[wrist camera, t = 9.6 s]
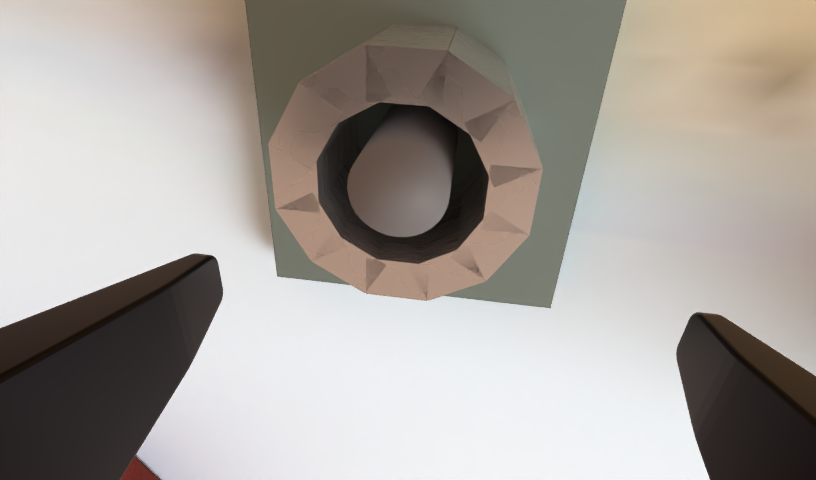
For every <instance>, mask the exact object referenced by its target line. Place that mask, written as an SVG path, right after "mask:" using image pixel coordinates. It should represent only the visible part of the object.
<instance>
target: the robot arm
mask: <svg viewBox="0 0 816 480" xmlns="http://www.w3.org/2000/svg"><path fill="white" fill-rule="evenodd" d="M222 297H223V287H222V282H221V277H220V271H219V266H218V262H217V260H216V258H215V257H214V256H212V255H204V254H191V255H188V256H186V257H183V258H181V259H178V260H175V261H173V262H170V263H168V264H165V265H162V266H160V267H157V268H155V269H152V270H150V271H147V272H144V273H142V274H139V275H137V276H134V277H131V278H129V279H126V280H124V281H121V282H119V283H116V284H113V285H111V286H108V287H106V288H103V289H101V290H98V291H95V292H93V293H90V294H88V295H85V296H82V297H80V298H77V299H75V300H72V301H70V302H67V303H64V304H62V305H59V306H57V307H54V308H51V309H49V310H46V311H44V312H41V313H39V314H36V315H33V316H31V317H28V318H26V319H23V320H20V321H18V322H15V323H13V324H10V325H8V326H5V327H2V328H0V480H120V479H121V478H122V476H123V474H124V473H125V471H126V470H127V468H128V466H129V465H130V463H131V461H132V460H133V458H134V457H135V455H136V453H137V452H138V450H139V448H140V447H141V445H142V444H143V442H144V440H145V439H146V437H147V436H148V434H149V432H150V431H151V429H152V427H153V426H154V424H155V423H156V421H157V419H158V418H159V416H160V414H161V413H162V411H163V410H164V408H165V406H166V405H167V403H168V401H169V400H170V398H171V397H172V395H173V393H174V392H175V390H176V388H177V387H178V385H179V384H180V382H181V380H182V379H183V377H184V375H185V374H186V372H187V370H188V369H189V367H190V365H191V363H192V361H193V359H194V358H195V356H196V354H197V351H198V349H199V347H200V345H201V343H202V341H203V339H204V337H205V335H206V332H207V330H208V328H209V326H210V324H211V322H212V320H213V318H214V316H215V314H216V311H217V309H218V307H219V305H220V303H221V300H222ZM676 356H677V363H678V367H679V371H680V376H681V380H682V384H683V389H684V393H685V397H686V401H687V406H688V410H689V414H690V419H691V423H692V427H693V431H694V434H695V438H696V441H697V444H698V447H699V450H700V453H701V456H702V458H703V461H704V464H705V467H706V470H707V472H708V475H709V478H710V480H816V376H814V375H813V374H811V373H810V372H808V371H807V370H805V369H804V368H802V367H801V366H799V365H797V364H796V363H794V362H793V361H791V360H790V359H788V358H787V357H785V356H783V355H782V354H780V353H779V352H777V351H776V350H774V349H773V348H771V347H769V346H768V345H766V344H765V343H763V342H762V341H760V340H759V339H757V338H756V337H754V336H752V335H751V334H749V333H748V332H746V331H745V330H743V329H742V328H740V327H738V326H737V325H735V324H734V323H732V322H731V321H729V320H728V319H726V318H724V317H723V316H721V315H718V314H709V313H700V312H697V313H695V314H693V315H692V316H691V317H690V319H689V321H688V324H687V326H686V328H685V330H684V333H683V335H682V337H681V340H680V342H679V344H678V347H677V353H676Z"/></svg>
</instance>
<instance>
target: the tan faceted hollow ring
mask: <svg viewBox="0 0 816 480" xmlns="http://www.w3.org/2000/svg"><path fill="white" fill-rule="evenodd" d="M379 102H382V103H395V104H407V105H420V106H429V107H431V108H432V109H434V110H435V111H437V112H438V113H439V114H441V115H442V116H444V117H445V118H447V119H448V120H450V121H451V122H453V123H454V124H455V125H457V126H458V127H460V128H461V129H463V130H464V131H466V132H467V133H468V134H470V136H471V138H472V140H473V142H474V144H475V147H476V149H477V151H478V153H479V155H480V157H481V159H480V160H479V162H478V163H477V164H476V165H475V167H474V168H473V169H472V170H471V172H470V173H469V174H468V176H467V177H466V178H465V179H464V181H463V182H460V183H458V184H455V185H453V186H451V191H450V198H449V203H448V206H447V209H446V211H445V213H444V215H443V217H442V218H441V220H440V221H439V222H438V223H437V224H436V225H435V226H433V227H432V228H431V229H429V230H428V231H426V232H424V233H422V234H419V235H415V236H410V237H394V236H389V235H385V234H382V233H380V232H378V231H376V230H374V229H372V228H371V227H369V226H368V225H366V224H365V223H364V222H363V221H362V220H361V219H360V218H359V217H358V215H357V214H356V212H355V211H354V209H353V207H352V205H351V203H350V200H349V196H348V190H347V182H348V176H349V173H350V170H351V168H352V166H353V164H354V162H355V161H356V159H357V158H358V156H359V155H360V153H361V152H362V150H361V148H360V147H359V145H358V113H359V112H361V111H363V110H365V109H367V108H369V107H371V106H373V105H375V104H377V103H379ZM268 147H269V156H270V165H271V174H272V183H273V193H274V202H275V208H276V211H277V212H278V214H279V215H280V217H281V218H282V219H283V221H284V222H285V224H286V225H287V227H288V228H289V230H290V231H291V233H292V234H293V235H294V237H295V238H296V240H297V241H298V243H299V244H300V246H301V247H302V249H303V250H304V251H305V253H306V254H307V256H308V257H309V259H310V260H311V261H312V262H313V263H315V264H317V265H318V266H320V267H322V268H323V269H325V270H327V271H328V272H330V273H332V274H333V275H335V276H337V277H339V278H340V279H342V280H344V281H345V282H347V283H349V284H350V285H352V286H354V287H355V288H357V289H359V290H361V291H362V292H364V293H366V294H374V295H383V296H391V297H400V298H408V299H417V300H425V301H427V300H431V299H434V298H437V297H440V296H443V295H446V294H449V293H452V292H455V291H458V290H461V289H464V288H467V287H470V286H473V285H476V284H479V283H482V282H485V281H487V280H488V279H489V278H490V277H491V276H492V275H493V274H494V273H495V271H496V270H497V269H498V268H499V267H500V266H501V265H502V264H503V263H504V262H505V261H506V260H507V259H508V258H509V257H510V256H511V254H512V253H513V252H514V251H515V250H516V249H517V248H518V247H519V246H520V245H521V244H522V243H523V242H524V241H525V240H526V239H527V237H528V236H529V235H530V231H531V226H532V221H533V216H534V211H535V206H536V201H537V196H538V191H539V186H540V181H541V176H542V171H543V167H542V164H541V161H540V157H539V154H538V151H537V147H536V144H535V141H534V137H533V134H532V131H531V127H530V124H529V121H528V117H527V114H526V112H525V109H524V107H523V104H522V102H521V99H520V97H519V94H518V92H517V89H516V87H515V84H514V82H513V79H512V77H511V74H510V72H509V69H508V67H507V64H506V62H505V61H504V60H502V59H501V58H500V57H498V56H497V55H496V54H494V53H493V52H491V51H490V50H489V49H487V48H486V47H485V46H483V45H482V44H481V43H479V42H478V41H476V40H475V39H474V38H472V37H471V36H470V35H468V34H467V33H466V32H464V31H463V30H461V29H460V28H459V27H456V26H441V25H425V24H409V23H397V24H395V25H393V26H391V27H389V28H388V29H386V30H384V31H382V32H381V33H379V34H377V35H375V36H374V37H372V38H370V39H368V40H366V41H365V42H363V43H361V44H359V45H358V46H356V47H354V48H352V49H350V50H349V51H347V52H346V53H344V54H342V55H341V56H339V57H338V58H336V59H334V60H333V61H331V62H330V63H328V64H327V65H325V66H323V67H322V68H320V69H319V70H317V71H316V72H314V73H312V74H311V75H309V76H308V77H306V78H305V79H303V80H301V81H300V82H299V83H298V85H297V87H296V89H295V91H294V93H293V95H292V97H291V99H290V101H289V103H288V105H287V107H286V109H285V111H284V113H283V115H282V117H281V119H280V121H279V123H278V125H277V127H276V129H275V131H274V133H273V135H272V137H271V139H270V141H269V143H268Z"/></svg>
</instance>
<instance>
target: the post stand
mask: <svg viewBox="0 0 816 480" xmlns="http://www.w3.org/2000/svg"><path fill="white" fill-rule="evenodd" d="M245 4H246V12H247V21H248V29H249V38H250V47H251V55H252V64H253V72H254V81H255V90H256V98H257V107H258V115H259V124H260V132H261V141H262V150H263V158H264V167H265V175H266V184H267V193H268V201H269V210H270V218H271V227H272V236H273V244H274V253H275V261H276V270H277V276H278V277H287V278H295V279H304V280H312V281H321V282H330V283H338V284H347V285H350V284H349V283H347V282H345V281H344V280H342V279H340V278H339V277H337V276H335V275H333V274H332V273H330V272H328V271H327V270H325V269H323V268H322V267H320V266H318V265H317V264H315V263H313V262H312V261H311V260H310V259H309V257H308V256H307V254H306V253H305V251H304V250H303V249H302V247H301V246H300V244H299V243H298V241H297V240H296V238H295V237H294V235H293V234H292V233H291V231H290V230H289V228H288V227H287V225H286V224H285V222H284V221H283V219H282V218H281V217H280V215H279V214H278V212H277V211H276V208H275V202H274V193H273V183H272V174H271V165H270V156H269V147H268V143H269V141H270V139H271V137H272V135H273V133H274V131H275V129H276V127H277V125H278V123H279V121H280V119H281V117H282V115H283V113H284V111H285V109H286V107H287V105H288V103H289V101H290V99H291V97H292V95H293V93H294V91H295V89H296V87H297V85H298V83H299V82H300V81H301V80H303V79H305V78H306V77H308V76H309V75H311V74H312V73H314V72H316V71H317V70H319V69H320V68H322V67H323V66H325V65H327V64H328V63H330V62H331V61H333V60H334V59H336V58H338V57H339V56H341V55H342V54H344V53H346V52H347V51H349V50H350V49H352V48H354V47H356V46H358V45H359V44H361V43H363V42H365V41H366V40H368V39H370V38H372V37H374V36H375V35H377V34H379V33H381V32H382V31H384V30H386V29H388V28H389V27H391V26H393V25H395V24H397V23H409V24H425V25H441V26H456V27H459V28H460V29H461V30H463V31H464V32H466V33H467V34H468V35H470V36H471V37H472V38H474V39H475V40H476V41H478V42H479V43H481V44H482V45H483V46H485V47H486V48H487V49H489V50H490V51H491V52H493V53H494V54H496V55H497V56H498V57H500V58H501V59H502V60H504V61H505V62H506V64H507V67H508V69H509V72H510V74H511V77H512V79H513V82H514V84H515V87H516V89H517V92H518V94H519V97H520V99H521V102H522V104H523V107H524V109H525V112H526V114H527V117H528V121H529V124H530V127H531V131H532V134H533V137H534V141H535V144H536V147H537V151H538V154H539V157H540V161H541V164H542V167H543V171H542V176H541V181H540V186H539V191H538V196H537V201H536V206H535V211H534V216H533V221H532V226H531V231H530V235H529V236H528V237H527V239H526V240H525V241H524V242H523V243H522V244H521V245H520V246H519V247H518V248H517V249H516V250H515V251H514V252H513V253H512V254H511V256H510V257H509V258H508V259H507V260H506V261H505V262H504V263H503V264H502V265H501V266H500V267H499V268H498V269H497V270H496V271H495V273H494V274H493V275H492V276H491V277H490V278H489V279H488V280H487V281H485V282H482V283H479V284H476V285H473V286H470V287H467V288H464V289H461V290H458V291H455V292H452V293H449V294H446V295H443V296H450V297H459V298H467V299H476V300H485V301H493V302H502V303H510V304H519V305H528V306H536V307H545V308H551V304H552V300H553V295H554V291H555V287H556V283H557V279H558V275H559V271H560V267H561V263H562V259H563V255H564V251H565V247H566V243H567V239H568V235H569V231H570V227H571V223H572V219H573V215H574V211H575V207H576V202H577V198H578V194H579V190H580V186H581V182H582V178H583V174H584V170H585V166H586V162H587V158H588V154H589V150H590V146H591V142H592V138H593V134H594V130H595V126H596V122H597V118H598V114H599V110H600V105H601V101H602V97H603V93H604V89H605V85H606V81H607V77H608V73H609V69H610V65H611V61H612V57H613V53H614V49H615V45H616V41H617V37H618V33H619V29H620V25H621V21H622V17H623V13H624V8H625V4H626V0H245ZM358 145H359V147H360V148H361V150H362V152H361V153H360V155H359V156H358V158H357V159H356V161H355V162H354V164H353V166H352V168H351V170H350V173H349V176H348V182H347V190H348V196H349V200H350V203H351V205H352V207H353V209H354V211H355V212H356V214H357V215H358V217H359V218H360V219H361V220H362V221H363V222H364V223H365V224H366V225H368V226H369V227H371V228H372V229H374V230H376V231H378V232H380V233H382V234H385V235H389V236H394V237H410V236H415V235H419V234H422V233H424V232H426V231H428V230H429V229H431V228H432V227H433V226H435V225H436V224H437V223H438V222H439V221H440V220H441V218H442V217H443V215H444V213H445V211H446V209H447V206H448V203H449V198H450V191H451V186H453V185H455V184H458V183H460V182H463V181H464V179H465V178H466V177H467V176H468V174H469V173H470V172H471V170H472V169H473V168H474V167H475V165H476V164H477V163H478V162H479V160H480V159H481V157H480V155H479V153H478V151H477V149H476V147H475V144H474V142H473V140H472V138H471V136H470V134H468V133H467V132H466V131H464V130H463V129H461V128H460V127H458V126H457V125H455V124H454V123H453V122H451V121H450V120H448V119H447V118H445V117H444V116H442V115H441V114H439V113H438V112H437V111H435V110H434V109H432V108H431V107H429V106H420V105H407V104H395V103H382V102H379V103H377V104H375V105H373V106H371V107H369V108H367V109H365V110H363V111H361V112H359V113H358Z"/></svg>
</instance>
